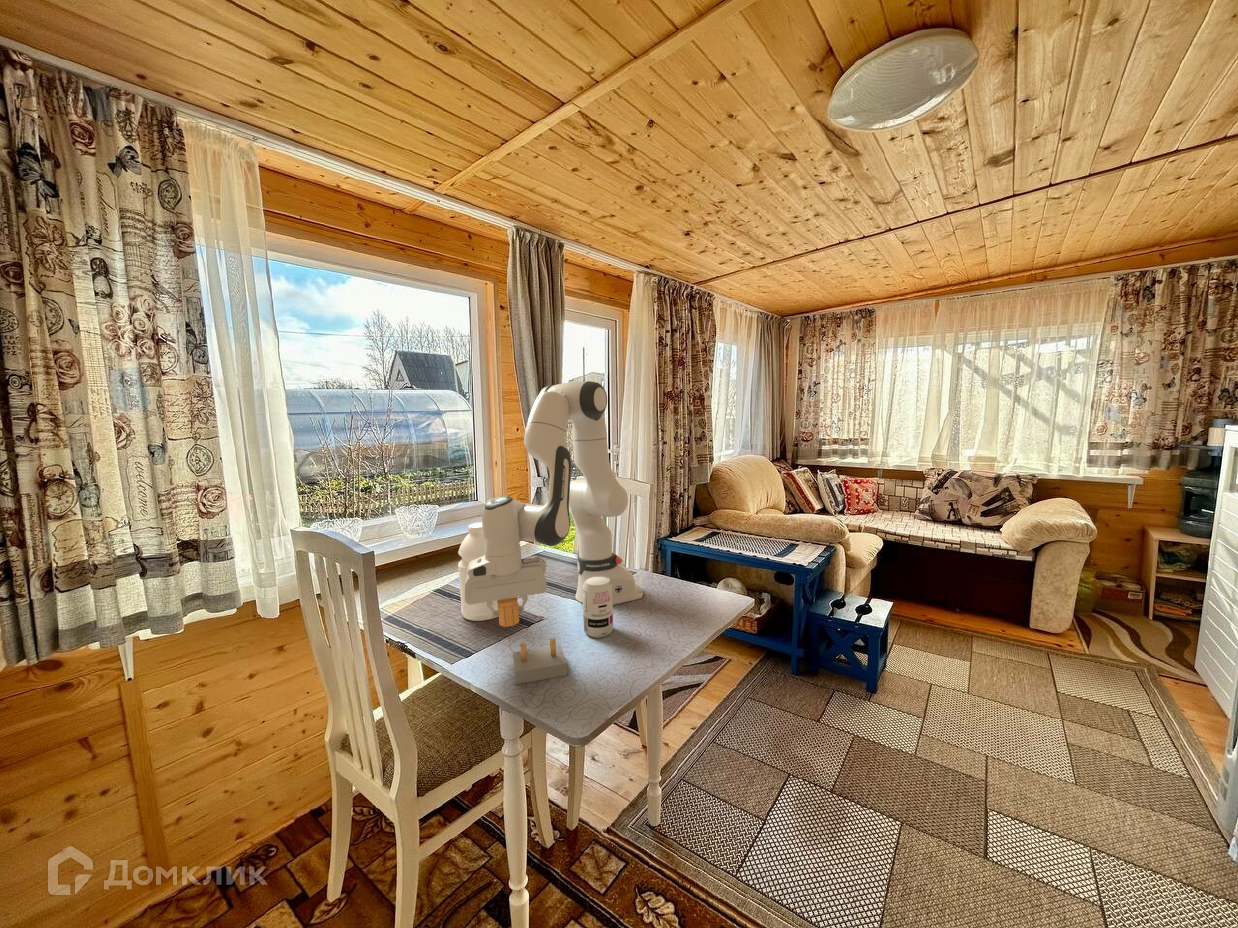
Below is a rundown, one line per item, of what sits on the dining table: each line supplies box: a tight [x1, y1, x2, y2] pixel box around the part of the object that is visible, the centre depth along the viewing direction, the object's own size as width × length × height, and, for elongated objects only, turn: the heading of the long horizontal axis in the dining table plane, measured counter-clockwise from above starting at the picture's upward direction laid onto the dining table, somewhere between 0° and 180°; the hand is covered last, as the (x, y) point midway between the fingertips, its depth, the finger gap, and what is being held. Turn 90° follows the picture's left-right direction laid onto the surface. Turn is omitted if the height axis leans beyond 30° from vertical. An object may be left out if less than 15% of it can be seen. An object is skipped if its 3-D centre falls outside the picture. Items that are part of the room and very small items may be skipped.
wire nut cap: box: [497, 597, 520, 628], centre depth 118 cm, size 5×5×6 cm
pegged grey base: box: [512, 637, 568, 685], centre depth 112 cm, size 12×9×7 cm
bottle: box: [457, 521, 499, 622], centre depth 143 cm, size 14×14×28 cm
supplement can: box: [582, 576, 614, 639], centre depth 129 cm, size 8×8×15 cm
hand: (508, 613), depth 118 cm, fingers closed on wire nut cap, 5 cm apart
